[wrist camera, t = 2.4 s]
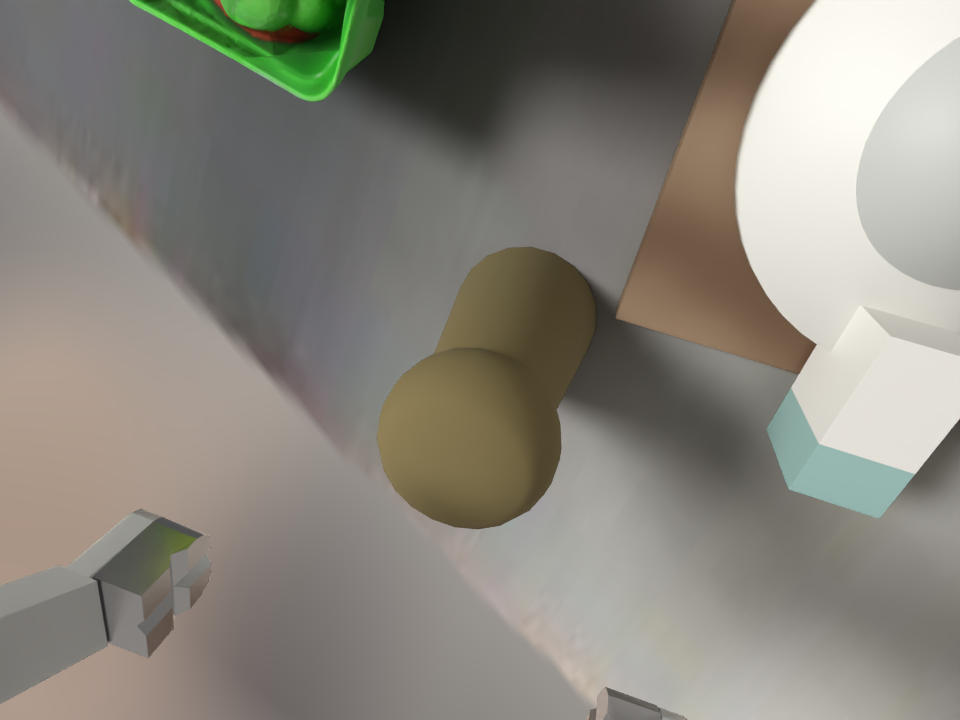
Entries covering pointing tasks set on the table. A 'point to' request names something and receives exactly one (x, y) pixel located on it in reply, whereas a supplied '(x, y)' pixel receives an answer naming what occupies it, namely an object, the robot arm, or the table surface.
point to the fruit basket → (282, 36)
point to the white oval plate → (860, 239)
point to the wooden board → (715, 211)
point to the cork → (490, 393)
